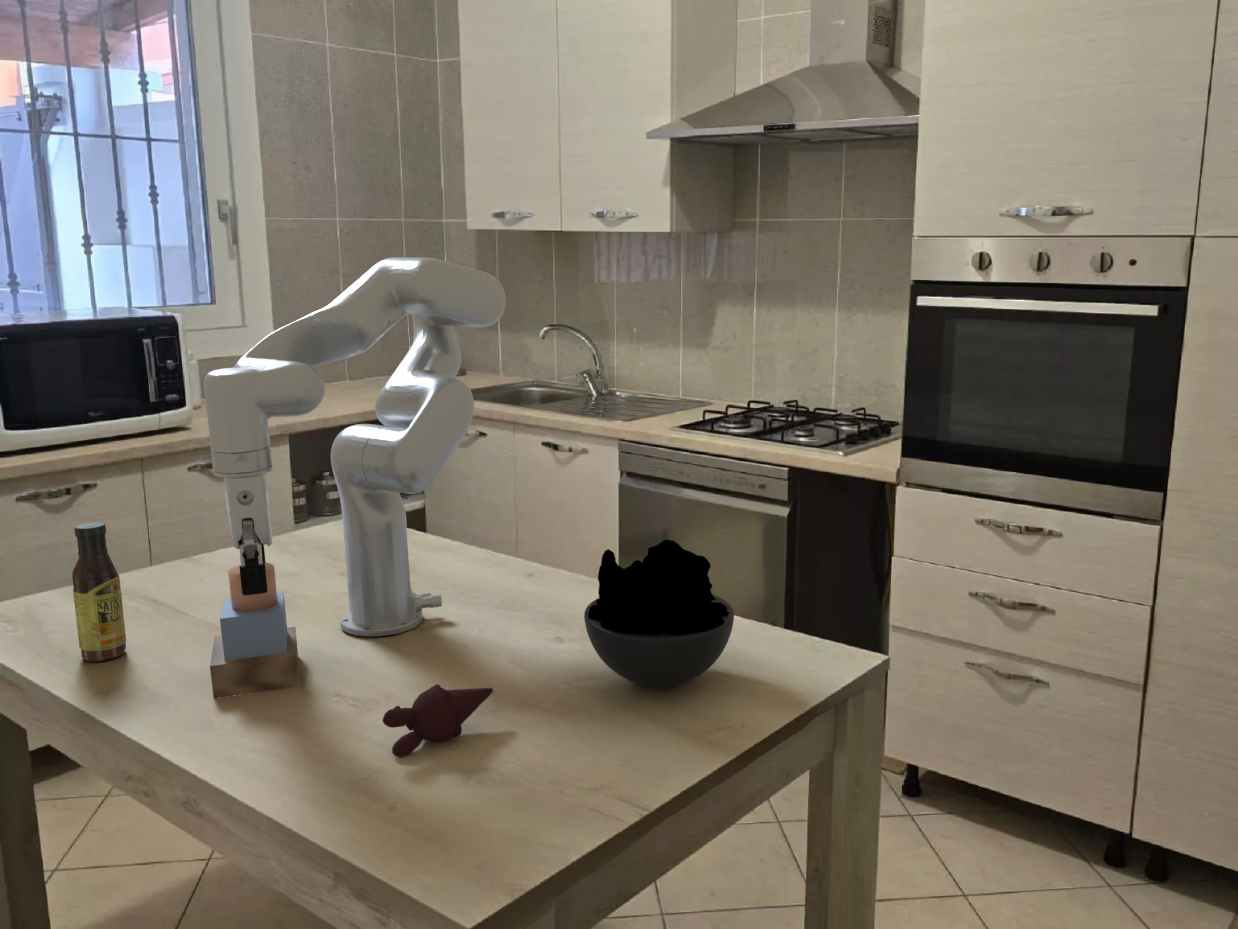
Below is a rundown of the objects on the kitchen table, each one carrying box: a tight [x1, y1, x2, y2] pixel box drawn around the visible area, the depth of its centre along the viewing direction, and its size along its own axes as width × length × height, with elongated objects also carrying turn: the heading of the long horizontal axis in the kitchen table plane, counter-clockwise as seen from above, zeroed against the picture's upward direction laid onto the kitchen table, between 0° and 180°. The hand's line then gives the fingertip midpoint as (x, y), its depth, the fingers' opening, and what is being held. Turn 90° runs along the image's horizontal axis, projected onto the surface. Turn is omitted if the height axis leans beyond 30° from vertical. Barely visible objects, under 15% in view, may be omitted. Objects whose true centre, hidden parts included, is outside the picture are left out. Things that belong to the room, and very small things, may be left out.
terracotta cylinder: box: [227, 562, 278, 612], centre depth 148 cm, size 6×6×5 cm
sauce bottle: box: [71, 521, 127, 663], centre depth 157 cm, size 6×6×20 cm
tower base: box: [209, 626, 300, 699], centre depth 150 cm, size 11×11×5 cm
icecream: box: [382, 683, 494, 758], centre depth 131 cm, size 7×7×15 cm
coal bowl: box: [583, 539, 735, 688], centre depth 145 cm, size 20×20×19 cm
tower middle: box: [219, 592, 288, 661], centre depth 149 cm, size 8×8×6 cm
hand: (254, 582), depth 148 cm, fingers open, 9 cm apart
